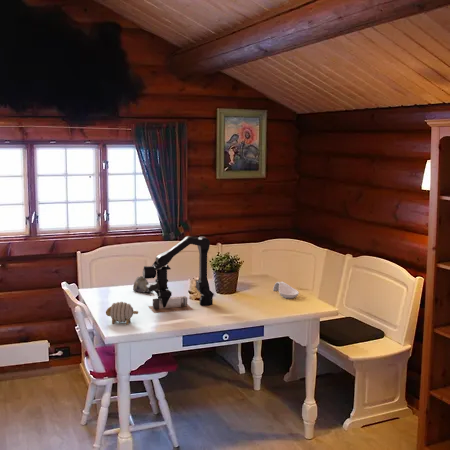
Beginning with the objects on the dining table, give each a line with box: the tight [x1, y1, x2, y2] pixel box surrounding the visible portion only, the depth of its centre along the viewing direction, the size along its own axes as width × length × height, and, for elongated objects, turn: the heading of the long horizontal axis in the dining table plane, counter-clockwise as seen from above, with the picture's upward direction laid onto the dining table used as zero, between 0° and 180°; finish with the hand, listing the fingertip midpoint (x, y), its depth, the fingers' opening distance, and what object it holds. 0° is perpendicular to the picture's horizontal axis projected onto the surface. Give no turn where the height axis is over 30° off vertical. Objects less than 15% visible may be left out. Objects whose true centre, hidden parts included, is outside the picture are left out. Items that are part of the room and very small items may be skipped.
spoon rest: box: [272, 281, 300, 300], centre depth 390 cm, size 24×12×7 cm, turn 21°
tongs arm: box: [152, 296, 184, 309], centre depth 355 cm, size 17×2×5 cm, turn 109°
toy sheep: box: [105, 301, 139, 325], centre depth 331 cm, size 11×17×11 cm, turn 88°
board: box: [148, 303, 194, 314], centre depth 356 cm, size 22×14×1 cm, turn 109°
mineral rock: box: [132, 275, 154, 294], centre depth 395 cm, size 13×11×10 cm
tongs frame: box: [152, 295, 188, 308], centre depth 357 cm, size 19×3×5 cm, turn 109°
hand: (162, 305), depth 356 cm, fingers open, 9 cm apart
